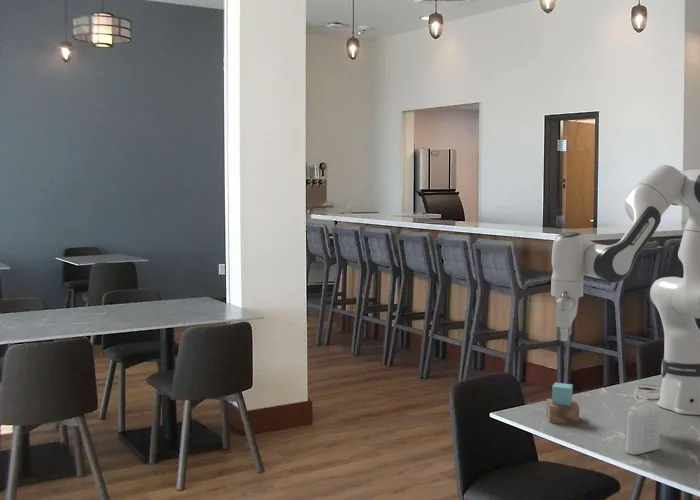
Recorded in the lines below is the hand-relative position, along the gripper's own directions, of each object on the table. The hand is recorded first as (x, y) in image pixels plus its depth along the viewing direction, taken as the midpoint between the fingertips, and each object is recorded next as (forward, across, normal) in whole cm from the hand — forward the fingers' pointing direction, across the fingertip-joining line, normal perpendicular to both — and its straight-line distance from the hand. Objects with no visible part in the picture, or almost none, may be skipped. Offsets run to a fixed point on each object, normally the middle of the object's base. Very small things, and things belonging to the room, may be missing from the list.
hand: (566, 337), depth 227 cm
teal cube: (+19, -2, +1) cm, 19 cm away
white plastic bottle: (+24, -22, -21) cm, 39 cm away
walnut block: (+24, -2, 0) cm, 24 cm away
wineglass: (+24, -4, -22) cm, 33 cm away
